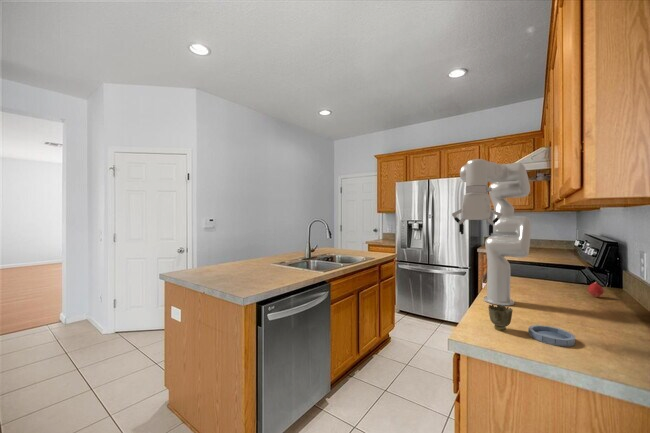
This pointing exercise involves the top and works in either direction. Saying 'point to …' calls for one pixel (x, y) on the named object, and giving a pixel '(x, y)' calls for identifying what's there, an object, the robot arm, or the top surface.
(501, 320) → the cup
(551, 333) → the dish
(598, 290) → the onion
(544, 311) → the top surface
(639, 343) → the top surface
